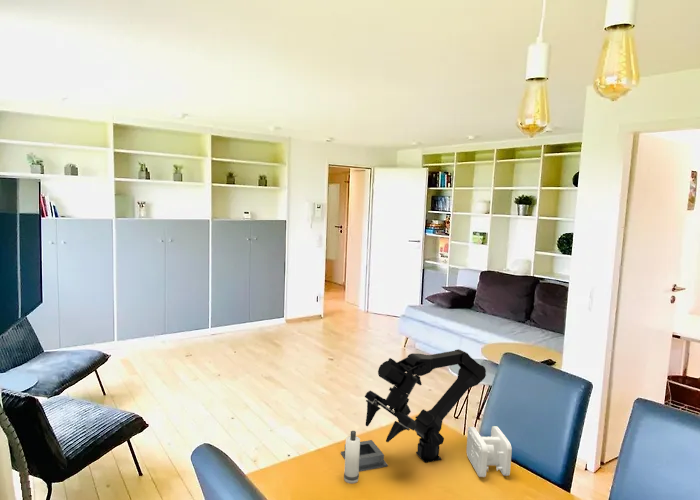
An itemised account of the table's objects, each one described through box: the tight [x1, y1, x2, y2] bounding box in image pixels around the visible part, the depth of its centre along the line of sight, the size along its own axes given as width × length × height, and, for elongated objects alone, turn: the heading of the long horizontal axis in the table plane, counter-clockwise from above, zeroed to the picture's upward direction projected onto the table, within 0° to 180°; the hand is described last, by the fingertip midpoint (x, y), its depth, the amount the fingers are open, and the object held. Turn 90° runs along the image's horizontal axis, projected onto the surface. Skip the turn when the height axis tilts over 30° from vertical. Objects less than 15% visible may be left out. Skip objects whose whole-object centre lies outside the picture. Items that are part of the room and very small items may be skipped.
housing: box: [340, 439, 389, 473], centre depth 155 cm, size 12×12×4 cm
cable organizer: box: [466, 425, 513, 478], centre depth 152 cm, size 15×11×12 cm
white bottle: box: [343, 430, 361, 484], centre depth 143 cm, size 5×5×15 cm
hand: (376, 433), depth 147 cm, fingers open, 9 cm apart
